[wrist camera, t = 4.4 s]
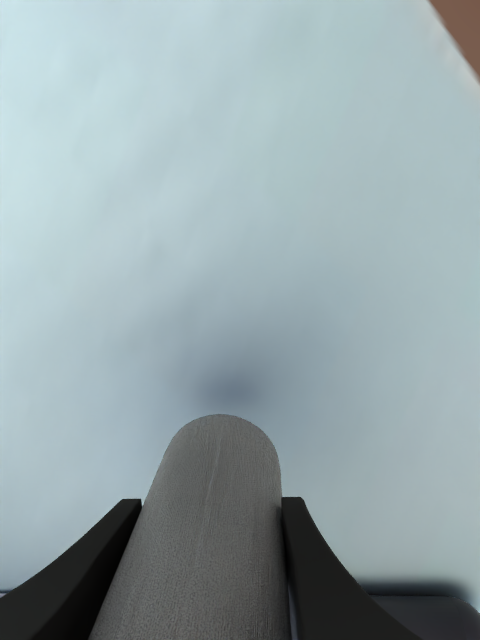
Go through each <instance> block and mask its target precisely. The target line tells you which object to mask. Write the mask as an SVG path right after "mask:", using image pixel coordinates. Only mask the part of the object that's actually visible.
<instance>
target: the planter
mask: <svg viewBox="0 0 480 640" xmlns="http://www.w3.org/2000/svg"><path fill="white" fill-rule="evenodd" d="M281 497H282V488H281V474H280V466H279V460H278V456H277V452H276V450H275V447H274V445H273V444H272V442H271V441H270V439H269V438H268V436H267V435H266V434H265V433H264V432H263V431H262V430H261V429H260V428H258V427H257V426H255V425H254V424H252V423H251V422H249V421H247V420H245V419H242V418H239V417H236V416H231V415H208V416H204V417H201V418H198V419H195V420H193V421H191V422H190V423H188V424H186V425H185V426H184V427H182V428H181V429H180V430H179V431H178V432H177V433H176V435H175V436H174V437H173V439H172V440H171V442H170V444H169V446H168V448H167V449H166V452H165V454H164V456H163V459H162V461H161V463H160V466H159V468H158V471H157V473H156V476H155V478H154V480H153V483H152V485H151V488H150V490H149V493H148V495H147V497H146V500H145V502H144V505H143V507H142V510H141V512H140V514H139V517H138V519H137V522H136V524H135V527H134V529H133V531H132V534H131V536H130V539H129V541H128V544H127V546H126V548H125V551H124V553H123V556H122V558H121V561H120V563H119V565H118V568H117V570H116V573H115V575H114V578H113V580H112V582H111V585H110V587H109V590H108V592H107V595H106V597H105V599H104V602H103V604H102V607H101V609H100V612H99V614H98V616H97V619H96V621H95V624H94V626H93V629H92V631H91V633H90V636H89V638H88V640H292V634H291V619H290V605H289V590H288V575H287V562H286V552H285V544H284V537H283V526H282V510H281Z"/></svg>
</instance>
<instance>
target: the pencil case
mask: <svg viewBox="0 0 480 640" xmlns="http://www.w3.org/2000/svg"><path fill="white" fill-rule="evenodd" d="M371 597H372V598H373V599H374V600H375V601H376V602H377V603H378V604H379V605H380V606H381V607H382V608H383V609H385V610H386V611H387V612H388V613H389V614H390V615H391V616H392V617H394V618H395V619H396V620H397V621H399V622H400V623H401V624H402V625H404V626H405V627H406V628H407V629H409V630H410V631H412V632H413V633H415V634H416V635H418V636H419V637H420V638H422V639H423V640H480V614H479V613H478V611H477V610H476V609H475V608H473V607H472V606H471V605H470V604H468V603H467V602H465V601H463V600H461V599H458V598H455V597H449V596H371ZM291 634H292V632H291ZM292 640H293V639H292Z"/></svg>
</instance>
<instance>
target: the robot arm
mask: <svg viewBox="0 0 480 640" xmlns="http://www.w3.org/2000/svg"><path fill="white" fill-rule="evenodd" d="M141 510H142V505H141V499H122V500H121V501H120V502H119V503H118V504H116V505H115V506H114V507H113V508H112V509H111V510H110V511H109V512H108V513H107V514H106V515H105V516H104V517H103V518H102V519H101V520H100V521H99V522H98V523H97V524H96V525H94V526H93V527H92V528H91V529H90V530H89V531H88V532H87V533H86V534H85V535H84V536H83V537H82V538H80V539H79V540H78V541H77V542H76V543H75V544H73V545H72V546H71V547H70V548H69V549H68V550H66V551H65V552H64V553H63V554H62V555H61V556H59V557H58V558H57V559H56V560H54V561H53V562H52V563H51V564H49V565H48V566H47V567H45V568H44V569H43V570H41V571H40V572H39V573H37V574H36V575H34V576H33V577H32V578H30V579H29V580H27V581H26V582H24V583H23V584H22V585H20V586H18V587H17V588H15V589H14V590H12V591H10V592H9V593H0V640H88V638H89V636H90V633H91V631H92V629H93V626H94V624H95V621H96V619H97V616H98V614H99V612H100V609H101V607H102V604H103V602H104V599H105V597H106V595H107V592H108V590H109V587H110V585H111V582H112V580H113V578H114V575H115V573H116V570H117V568H118V565H119V563H120V561H121V558H122V556H123V553H124V551H125V548H126V546H127V544H128V541H129V539H130V536H131V534H132V531H133V529H134V527H135V524H136V522H137V519H138V517H139V514H140V512H141ZM281 510H282V526H283V537H284V544H285V552H286V562H287V575H288V590H289V605H290V619H291V632H292V639H293V640H423V639H422V638H420V637H419V636H418V635H416V634H415V633H413V632H412V631H410V630H409V629H407V628H406V627H405V626H404V625H402V624H401V623H400V622H399V621H397V620H396V619H395V618H394V617H392V616H391V615H390V614H389V613H388V612H387V611H386V610H385V609H383V608H382V607H381V606H380V605H379V604H378V603H377V602H376V601H375V600H374V599H373V598H372V597H371V596H370V595H369V594H368V593H367V592H366V591H365V590H364V589H363V588H362V587H361V586H360V585H359V584H358V583H357V582H356V580H355V579H354V578H353V577H352V576H351V575H350V574H349V572H348V571H347V570H346V569H345V567H344V566H343V565H342V564H341V562H340V561H339V560H338V558H337V557H336V556H335V554H334V553H333V551H332V550H331V549H330V547H329V546H328V544H327V543H326V541H325V539H324V538H323V536H322V535H321V533H320V532H319V530H318V528H317V527H316V525H315V523H314V521H313V519H312V518H311V516H310V514H309V512H308V509H307V507H306V505H305V502H304V500H303V499H302V498H301V497H281Z"/></svg>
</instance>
